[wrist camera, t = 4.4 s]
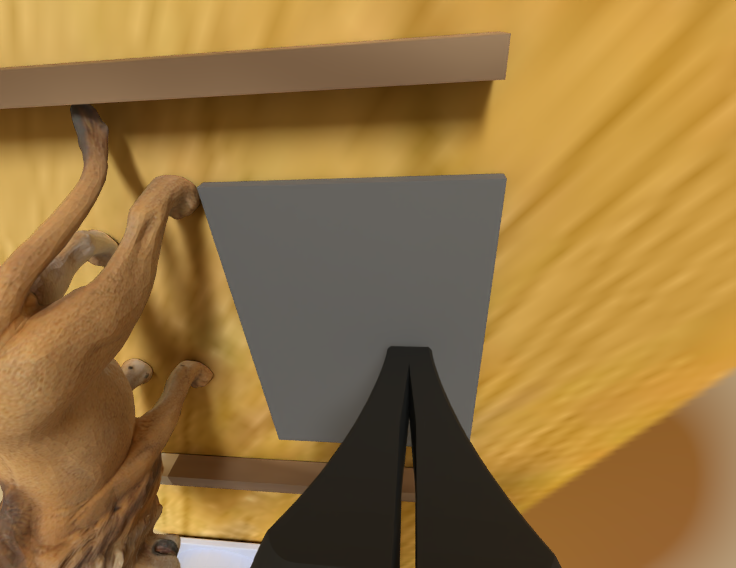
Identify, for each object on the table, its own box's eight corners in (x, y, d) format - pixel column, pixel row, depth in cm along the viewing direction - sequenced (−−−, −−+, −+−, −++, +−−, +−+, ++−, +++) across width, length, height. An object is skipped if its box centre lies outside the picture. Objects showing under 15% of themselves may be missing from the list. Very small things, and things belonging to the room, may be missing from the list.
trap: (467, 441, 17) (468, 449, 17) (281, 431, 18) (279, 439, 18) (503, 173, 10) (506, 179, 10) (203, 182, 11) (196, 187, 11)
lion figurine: (253, 435, 19) (147, 710, 11) (147, 421, 19) (-25, 682, 11) (188, 104, 10) (-423, 338, 3) (-4, 88, 10) (-1018, 264, 3)
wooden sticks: (451, 479, 19) (453, 504, 18) (58, 454, 21) (41, 475, 20) (499, 31, 8) (510, 33, 8) (-273, 87, 11) (-340, 94, 10)
